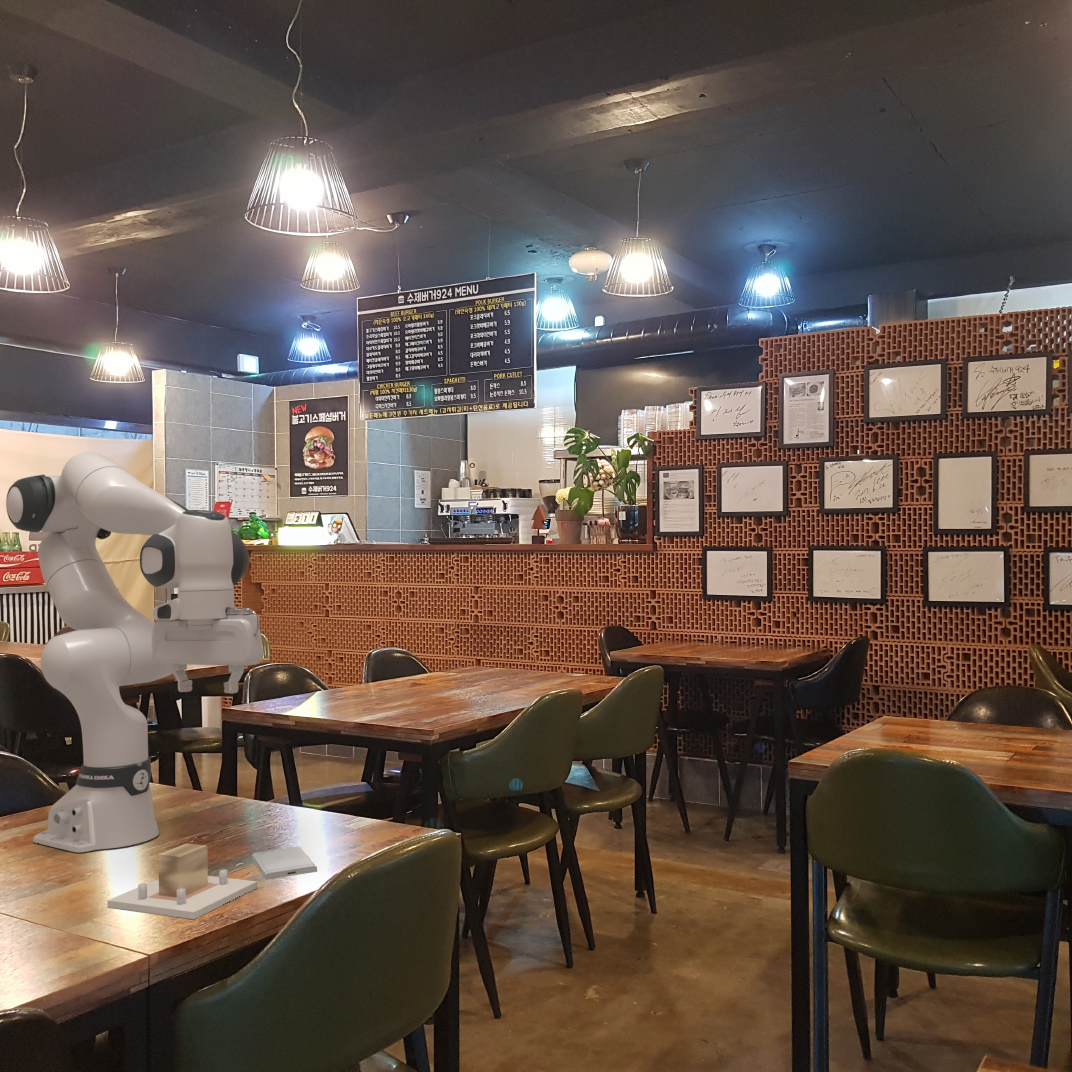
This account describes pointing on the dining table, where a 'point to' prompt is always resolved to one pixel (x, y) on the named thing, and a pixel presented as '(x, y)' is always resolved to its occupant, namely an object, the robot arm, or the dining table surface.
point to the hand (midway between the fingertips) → (207, 692)
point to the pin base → (183, 897)
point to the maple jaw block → (183, 869)
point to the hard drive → (283, 862)
